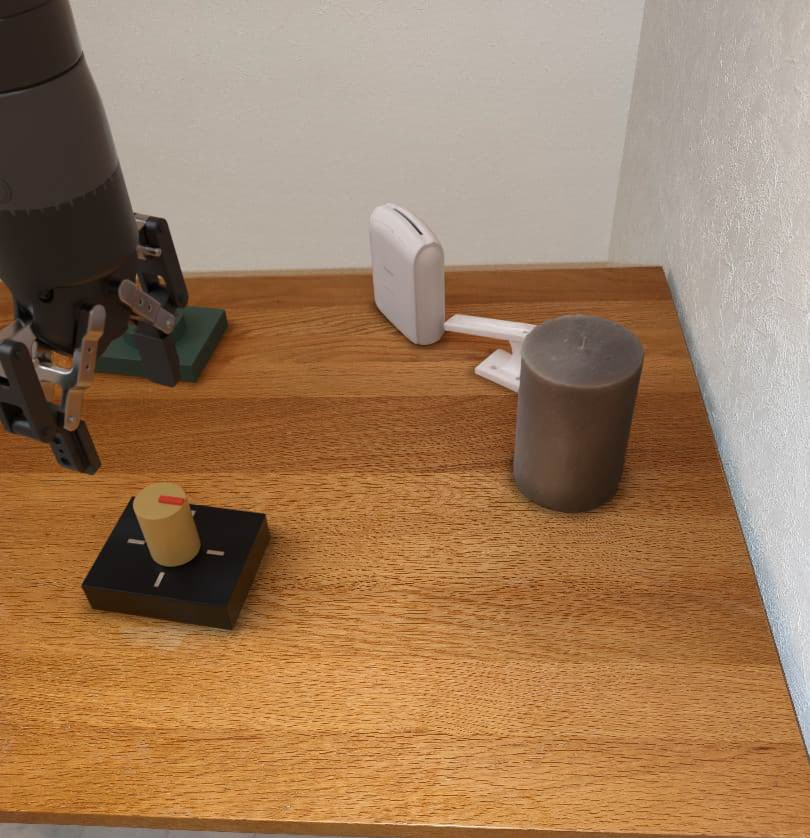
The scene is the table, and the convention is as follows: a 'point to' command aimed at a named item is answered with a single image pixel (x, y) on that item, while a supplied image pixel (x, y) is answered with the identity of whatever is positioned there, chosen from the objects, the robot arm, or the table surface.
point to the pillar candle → (575, 410)
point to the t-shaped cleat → (499, 363)
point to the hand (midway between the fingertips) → (126, 423)
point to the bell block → (192, 340)
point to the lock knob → (167, 523)
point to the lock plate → (181, 570)
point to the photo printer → (408, 273)
